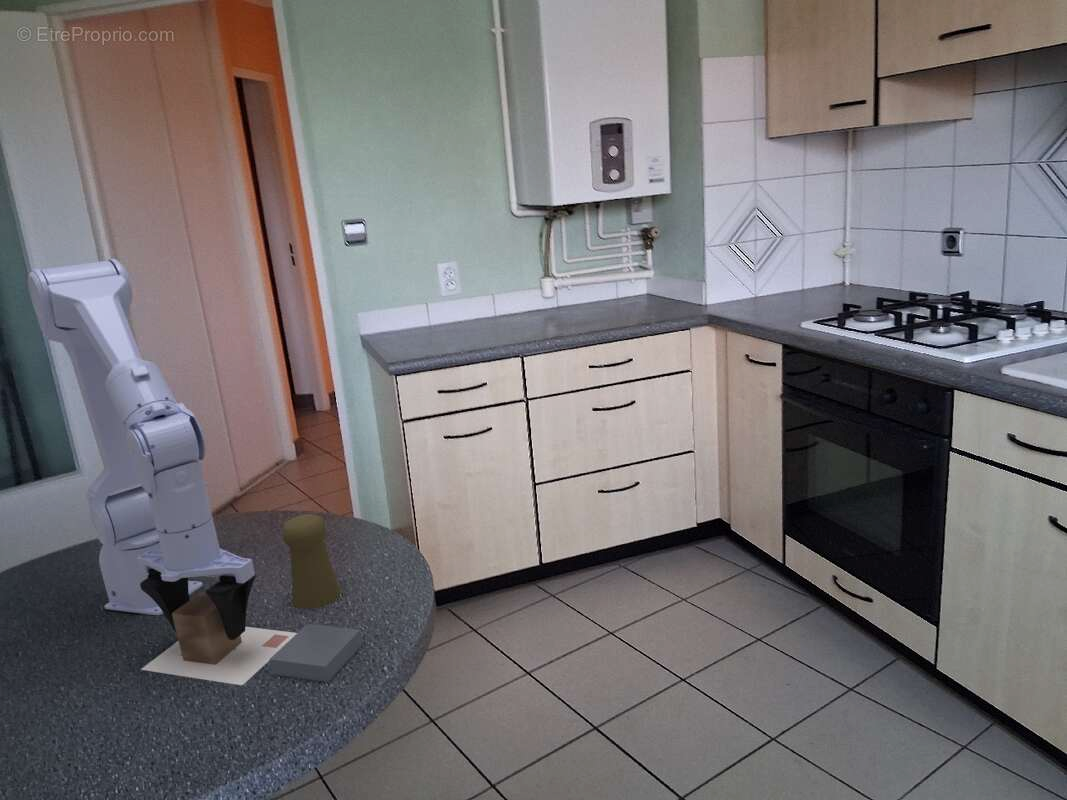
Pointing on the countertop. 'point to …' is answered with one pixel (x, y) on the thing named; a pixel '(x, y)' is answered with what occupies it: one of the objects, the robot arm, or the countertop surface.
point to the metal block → (316, 652)
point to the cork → (310, 562)
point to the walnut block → (202, 631)
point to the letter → (226, 658)
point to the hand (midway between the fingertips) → (210, 631)
